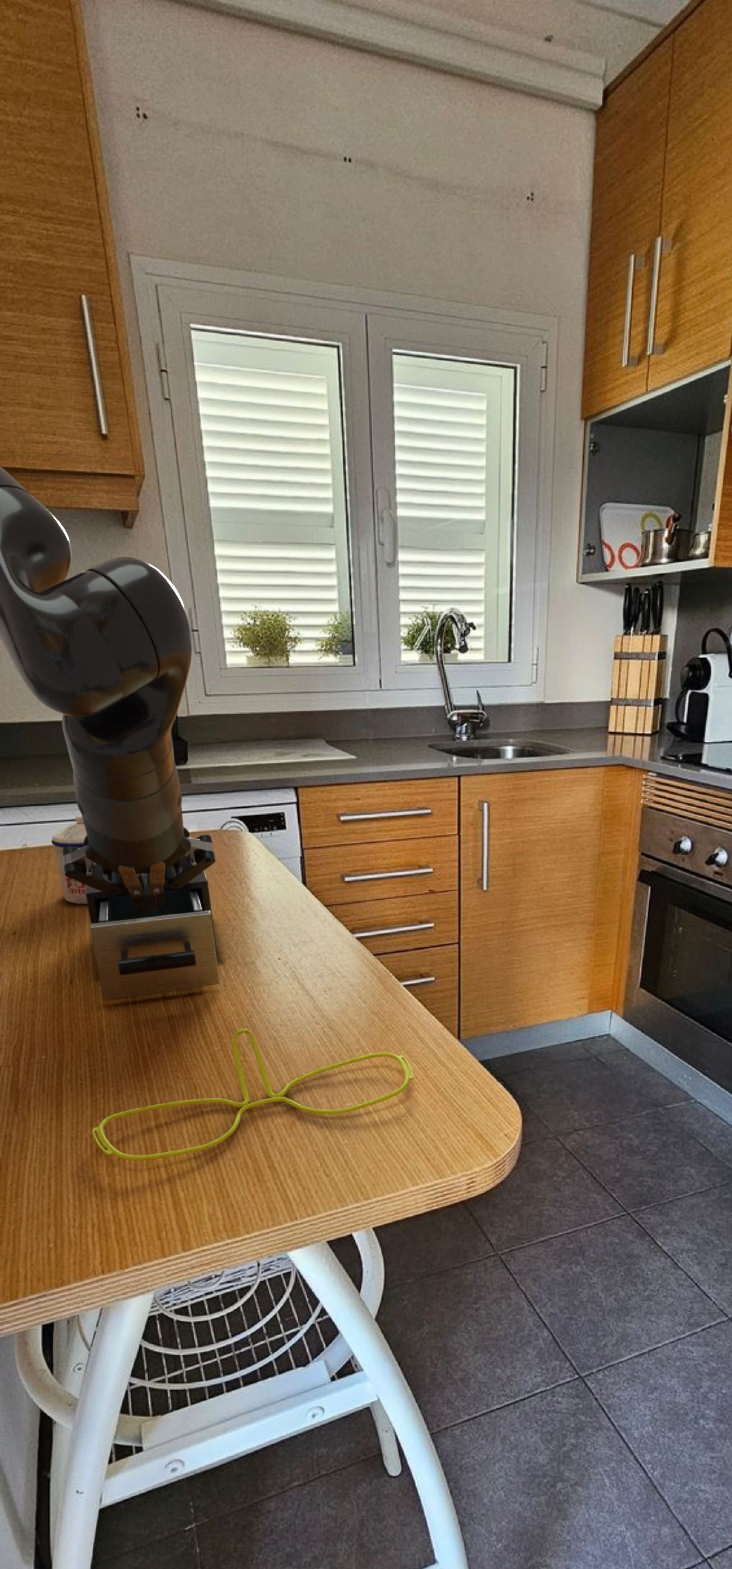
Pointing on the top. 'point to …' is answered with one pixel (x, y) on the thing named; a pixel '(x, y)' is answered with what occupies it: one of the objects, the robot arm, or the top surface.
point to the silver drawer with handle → (154, 946)
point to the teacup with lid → (71, 888)
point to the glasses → (245, 1104)
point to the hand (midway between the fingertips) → (148, 903)
